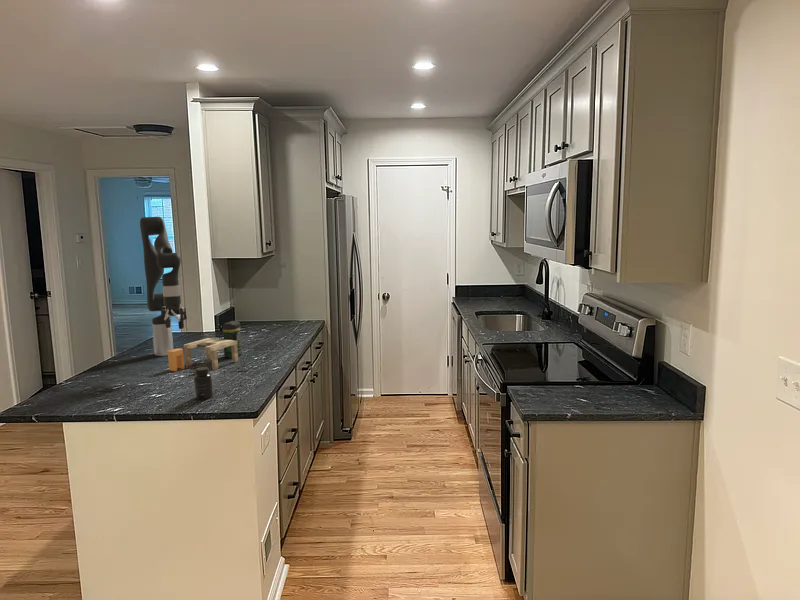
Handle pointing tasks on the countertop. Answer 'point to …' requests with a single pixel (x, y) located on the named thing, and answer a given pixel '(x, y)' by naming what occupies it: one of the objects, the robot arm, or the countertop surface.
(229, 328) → the coffee jar
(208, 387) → the supplement bottle
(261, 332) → the countertop surface
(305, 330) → the countertop surface
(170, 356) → the tan wooden post
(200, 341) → the cream u-shaped stand
